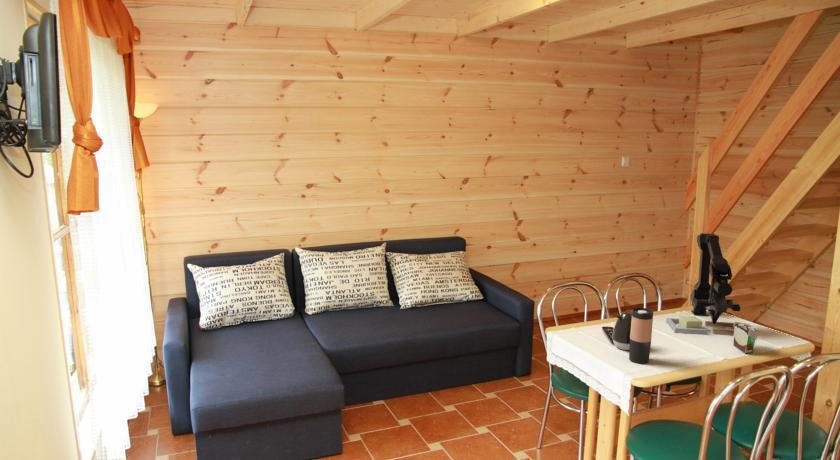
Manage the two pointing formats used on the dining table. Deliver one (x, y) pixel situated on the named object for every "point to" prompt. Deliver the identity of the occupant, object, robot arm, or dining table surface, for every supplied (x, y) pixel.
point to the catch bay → (676, 329)
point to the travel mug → (640, 335)
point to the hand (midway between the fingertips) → (714, 323)
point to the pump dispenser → (622, 331)
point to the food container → (744, 337)
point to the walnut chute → (721, 324)
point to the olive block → (689, 322)
